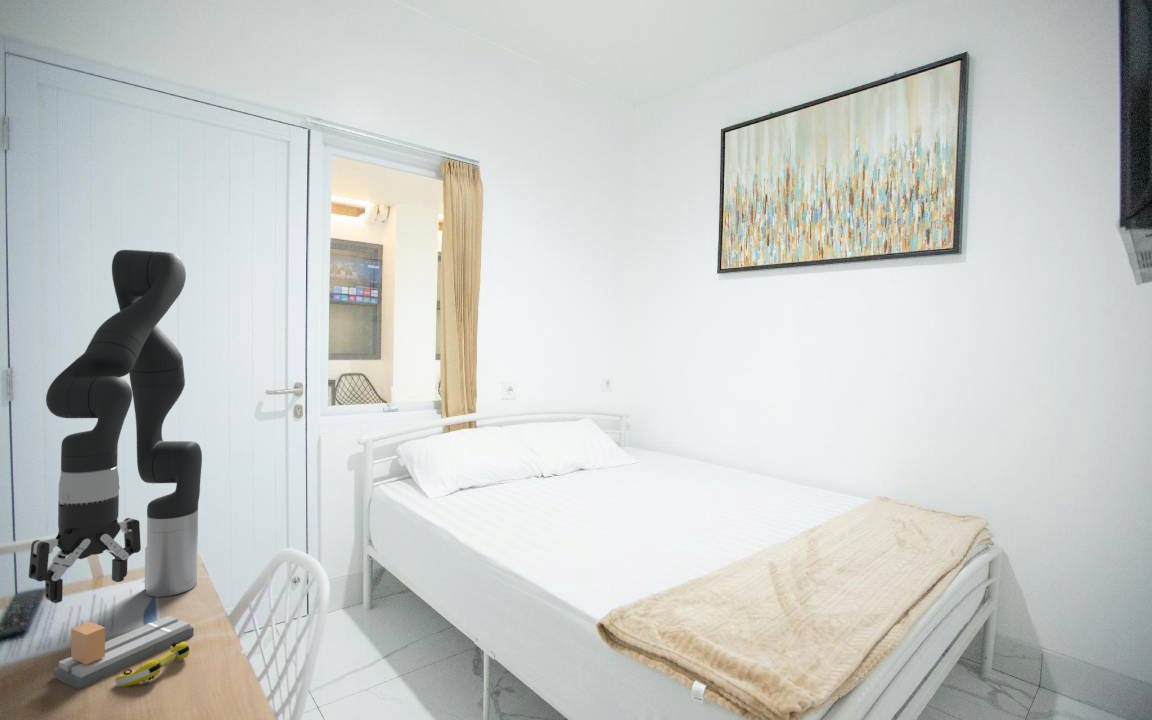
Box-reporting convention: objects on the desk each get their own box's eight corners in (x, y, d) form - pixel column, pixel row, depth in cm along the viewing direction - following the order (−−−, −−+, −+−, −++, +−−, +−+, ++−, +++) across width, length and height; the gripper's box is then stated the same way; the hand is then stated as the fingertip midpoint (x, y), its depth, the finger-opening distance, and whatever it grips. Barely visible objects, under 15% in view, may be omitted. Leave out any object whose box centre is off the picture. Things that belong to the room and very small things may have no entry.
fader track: (77, 689, 87) (77, 673, 87) (53, 677, 90) (54, 662, 90) (193, 635, 104) (193, 621, 104) (170, 626, 107) (170, 613, 106)
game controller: (148, 687, 87) (142, 666, 87) (118, 695, 89) (112, 675, 89) (202, 653, 97) (196, 634, 97) (174, 661, 98) (169, 642, 98)
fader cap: (86, 671, 89) (86, 635, 89) (71, 664, 91) (71, 628, 91) (104, 662, 92) (105, 627, 91) (89, 656, 93) (90, 621, 93)
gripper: (125, 482, 98) (123, 571, 99) (20, 502, 85) (19, 604, 86) (150, 488, 95) (149, 579, 96) (46, 509, 82) (45, 614, 83)
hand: (88, 590), depth 91 cm, fingers open, 8 cm apart
